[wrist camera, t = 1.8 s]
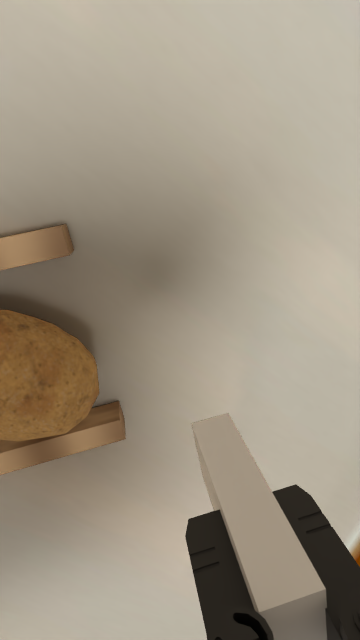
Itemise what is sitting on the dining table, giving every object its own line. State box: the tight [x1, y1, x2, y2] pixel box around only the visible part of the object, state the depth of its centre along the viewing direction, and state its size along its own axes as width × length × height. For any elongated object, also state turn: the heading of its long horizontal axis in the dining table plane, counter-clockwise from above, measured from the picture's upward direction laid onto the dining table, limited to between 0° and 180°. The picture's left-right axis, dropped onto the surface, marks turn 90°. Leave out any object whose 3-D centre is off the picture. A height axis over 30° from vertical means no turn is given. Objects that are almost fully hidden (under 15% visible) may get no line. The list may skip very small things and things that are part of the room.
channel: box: [0, 224, 126, 475], centre depth 27 cm, size 14×18×3 cm
